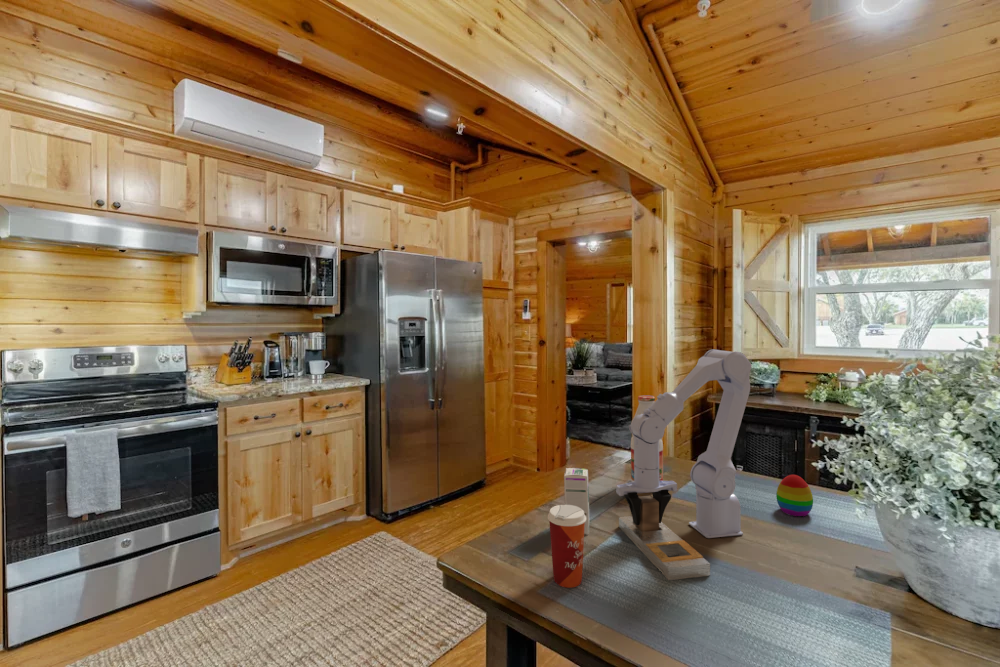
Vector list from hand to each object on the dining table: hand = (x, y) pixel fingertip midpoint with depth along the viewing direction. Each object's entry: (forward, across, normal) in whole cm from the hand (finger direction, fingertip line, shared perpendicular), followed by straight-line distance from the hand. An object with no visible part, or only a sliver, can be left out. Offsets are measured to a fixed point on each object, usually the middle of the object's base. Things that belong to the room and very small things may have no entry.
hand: (647, 522), depth 110 cm
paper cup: (+4, +24, +14) cm, 28 cm away
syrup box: (+4, +15, -7) cm, 17 cm away
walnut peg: (+3, 0, 0) cm, 3 cm away
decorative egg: (+4, -44, -5) cm, 44 cm away
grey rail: (+3, 0, +6) cm, 7 cm away
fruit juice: (+4, -15, -30) cm, 34 cm away
